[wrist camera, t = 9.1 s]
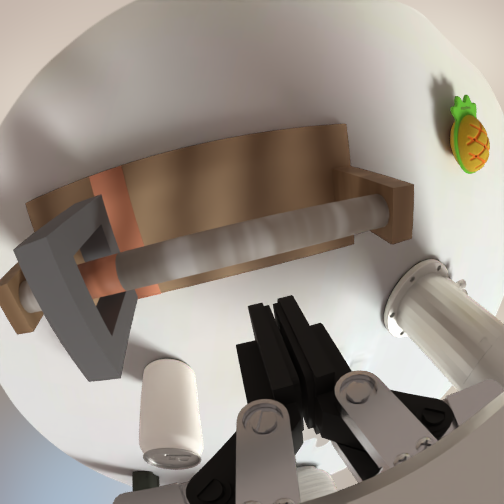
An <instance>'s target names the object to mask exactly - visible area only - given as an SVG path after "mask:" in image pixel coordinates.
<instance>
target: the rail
mask: <svg viewBox="0 0 504 504" xmlns="http://www.w3.org/2000/svg"><path fill="white" fill-rule="evenodd" d="M100 194H101V195H102V198H103V201H104V205H105V208H106V211H107V215H108V218H109V221H110V224H111V227H112V230H113V233H114V236H115V239H116V242H117V245H118V248H119V250H120V253H117V254H113V255H110V256H106V257H102V258H99V259H95V260H92V261H88V262H85V261H84V259H83V256H82V254H81V251H80V249H79V250H78V251H77V253H76V254H75V255H74V256H73V257H74V259H75V262H76V264H77V266H78V269H79V271H80V273H81V276H82V278H83V280H84V282H85V284H86V287H87V289H88V291H89V293H90V295H91V297H92V299H93V301H94V303H95V305H97V303H98V301H99V298H100V297H104V296H108V295H112V294H116V293H121V292H125V291H129V290H133V289H135V291H136V294H137V296H138V299H140V298H144V297H149V296H153V295H157V294H161V293H163V292H168V291H172V290H176V289H180V288H184V287H189V286H193V285H197V284H201V283H205V282H209V281H213V280H217V279H221V278H225V277H229V276H234V275H238V274H242V273H245V272H249V271H253V270H257V269H261V268H265V267H269V266H273V265H277V264H281V263H285V262H289V261H292V260H296V259H300V258H304V257H308V256H311V255H315V254H319V253H323V252H327V251H330V250H334V249H338V248H341V247H345V246H349V245H352V244H354V235H355V234H359V233H363V232H367V231H371V232H372V233H374V234H376V235H377V236H379V237H381V238H382V239H384V240H385V241H387V242H388V243H390V244H396V243H399V242H402V241H405V240H409V239H412V229H413V210H414V184H411V183H408V182H405V181H401V180H398V179H395V178H392V177H388V176H385V175H382V174H378V173H375V172H371V171H367V170H364V169H360V168H356V167H352V166H351V165H350V154H349V144H348V135H347V126H346V124H332V125H319V126H308V127H299V128H290V129H282V130H275V131H268V132H261V133H254V134H248V135H243V136H237V137H231V138H226V139H221V140H216V141H211V142H207V143H202V144H198V145H193V146H189V147H185V148H181V149H177V150H173V151H169V152H165V153H161V154H158V155H154V156H150V157H147V158H143V159H140V160H137V161H133V162H130V163H127V164H124V165H121V166H118V167H115V168H112V169H109V170H106V171H103V172H100V173H97V174H94V175H92V176H89V177H86V178H83V179H81V180H78V181H76V182H73V183H71V184H68V185H66V186H63V187H61V188H58V189H56V190H53V191H51V192H49V193H47V194H44V195H42V196H40V197H38V198H35V199H33V200H31V201H29V202H27V203H25V204H26V207H27V211H28V214H29V217H30V220H31V223H32V226H33V229H34V232H36V231H37V230H39V229H40V228H41V227H43V226H44V225H45V224H47V223H48V222H49V221H51V220H52V219H53V218H55V217H56V216H58V215H59V214H60V213H62V212H63V211H65V210H66V209H68V208H69V207H71V206H72V205H74V204H75V203H78V202H80V201H83V200H86V199H89V198H92V197H95V196H97V195H100ZM0 306H1V308H2V310H3V312H4V313H5V315H6V317H7V319H8V320H9V322H10V324H11V325H12V327H13V329H14V330H15V332H16V333H17V334H23V333H29V332H33V331H34V330H35V328H36V326H37V325H38V323H39V321H40V320H41V318H42V316H43V315H44V313H43V312H42V310H41V308H40V306H39V304H38V302H37V301H36V299H35V297H34V295H33V293H32V291H31V289H30V287H29V285H28V283H27V280H26V278H25V276H24V274H23V272H22V270H21V267H20V265H19V263H17V264H15V265H14V266H13V267H12V268H11V269H10V270H9V271H8V272H7V273H6V274H5V275H4V276H3V277H2V278H1V279H0Z"/></svg>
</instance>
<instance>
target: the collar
mask: <svg viewBox="0 0 504 504" xmlns="http://www.w3.org/2000/svg"><path fill="white" fill-rule="evenodd" d="M79 249H80V251H81V254H82V256H83V259H84V261H85V262H88V261H92V260H95V259H99V258H102V257H106V256H110V255H113V254H117V253H120V250H119V248H118V245H117V242H116V239H115V236H114V233H113V230H112V227H111V224H110V221H109V218H108V215H107V211H106V208H105V205H104V201H103V198H102V195H101V194H100V195H97V196H95V197H92V198H89V199H86V200H83V201H80V202H78V203H75V204H74V205H72V206H71V207H69V208H68V209H66V210H65V211H63V212H62V213H60V214H59V215H58V216H56V217H55V218H53V219H52V220H51V221H49V222H48V223H47V224H45V225H44V226H43V227H41V228H40V229H39V230H37V231H36V232H35V233H33V234H32V235H31V236H30V237H28V238H27V239H26V240H25V241H23V242H22V243H21V244H20V245H18V246H17V247H16V248H15V249H14V250H13V251H14V253H15V256H16V258H17V260H18V263H19V265H20V267H21V270H22V272H23V274H24V276H25V278H26V280H27V283H28V285H29V287H30V289H31V291H32V293H33V295H34V297H35V299H36V301H37V302H38V304H39V306H40V308H41V310H42V312H43V313H44V315H45V317H46V319H47V320H48V322H49V324H50V326H51V327H52V329H53V331H54V332H55V334H56V335H57V337H58V339H59V340H60V342H61V343H62V345H63V346H64V348H65V349H66V351H67V352H68V354H69V355H70V357H71V358H72V360H73V361H74V362H75V364H76V365H77V367H78V368H79V369H80V371H81V372H82V373H83V375H84V376H85V377H86V379H87V380H88V381H89V382H91V381H101V380H110V379H118V378H121V374H122V369H123V363H124V358H125V353H126V348H127V343H128V338H129V333H130V329H131V325H132V320H133V316H134V312H135V308H136V304H137V300H138V296H137V294H136V291H135V289H133V290H129V291H125V292H121V293H116V294H112V295H108V296H104V297H100V298H99V301H98V303H97V305H95V303H94V301H93V299H92V297H91V295H90V293H89V291H88V289H87V287H86V284H85V282H84V280H83V278H82V276H81V273H80V271H79V269H78V266H77V264H76V262H75V259H74V257H73V256H74V255H75V254H76V253H77V251H78V250H79Z"/></svg>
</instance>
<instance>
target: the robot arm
mask: <svg viewBox="0 0 504 504" xmlns="http://www.w3.org/2000/svg"><path fill="white" fill-rule="evenodd" d="M465 286H466V282H465V280H463V279H462V280H460V281H458V282H456V283H455V282H454V281H452V280H451V279H450V278H449V276H448V271H447V268H446V267H445V265H444V264H442V263H441V262H439V261H438V260H435V259H428V260H425V261H422V262H420V263H418V264H417V265H415V266H414V267H412V268H411V269H410V270H409V271H408V272H407V273H406V274H405V275H404V276H403V277H402V278H401V279H400V281H399V282H398V283H397V285H396V286H395V288H394V290H393V291H392V293H391V295H390V297H389V299H388V302H387V305H386V308H385V313H384V323H385V327H386V328H387V330H388V331H389V332H390V333H391V334H392V335H393V336H395V337H406V336H408V337H409V338H410V339H411V340H412V341H413V342H414V343H415V344H416V345H417V346H418V347H419V348H420V349H421V351H422V352H423V353H424V354H425V355H426V356H427V357H428V358H429V359H430V360H431V361H432V363H433V364H434V365H435V366H436V367H437V368H438V369H439V370H440V371H441V373H442V374H443V375H444V376H445V377H446V378H447V379H448V380H449V382H450V383H451V384H452V385H453V386H454V387H455V389H456V390H457V391H458V392H456V393H453V394H450V395H448V396H446V398H445V399H443V400H439V399H435V398H429V397H424V396H418V395H413V394H408V393H403V392H398V391H393V390H390V389H389V388H388V387H387V386H386V385H385V384H384V383H383V382H382V381H381V380H380V379H379V378H378V377H377V376H376V375H374V374H373V373H370V372H367V371H351V369H350V368H349V366H348V364H347V363H346V361H345V360H344V358H343V356H342V355H341V353H340V351H339V350H338V348H337V347H336V345H335V343H334V342H333V340H332V338H331V337H330V335H329V334H328V332H327V330H326V329H325V327H324V326H323V324H321V323H318V324H315V325H311V326H310V325H309V324H308V322H307V320H306V318H305V317H304V315H303V313H302V311H301V309H300V308H299V306H298V304H297V302H296V301H295V299H294V297H293V296H292V295H291V296H287V297H283V298H279V299H278V303H275V304H273V309H274V315H275V319H274V316H273V314H272V311H271V309H270V306H269V305H267V306H263V303H259V304H254V305H250V306H248V309H249V314H250V318H251V323H252V327H253V332H254V336H255V341H251V342H246V343H242V344H238V345H236V348H237V354H238V359H239V364H240V369H241V374H242V379H243V384H244V389H245V394H246V399H247V403H248V404H247V405H246V406H245V407H244V408H242V409H241V411H240V413H239V414H238V417H237V429H236V432H235V433H234V434H233V435H232V437H231V438H230V439H229V440H228V441H227V442H226V443H225V444H224V445H223V446H222V448H221V449H220V450H219V451H218V452H217V453H216V454H215V455H214V456H213V457H212V458H211V459H210V460H209V461H208V462H207V463H206V464H205V465H204V466H203V467H202V468H201V469H200V470H199V472H197V473H196V474H195V475H194V476H193V477H192V479H191V480H190V481H189V482H185V483H181V484H179V483H173V484H169V485H164V486H160V487H155V488H150V489H145V490H139V491H133V492H127V493H123V494H120V495H119V496H118V497H116V498H115V500H114V502H113V504H504V324H503V323H502V322H501V321H500V320H498V319H497V318H496V317H495V316H494V315H492V314H491V313H490V312H489V311H487V310H486V309H485V308H484V307H482V306H481V305H480V304H479V303H477V302H476V301H475V300H473V299H472V298H471V297H469V296H468V294H467V291H466V290H465V289H463V288H465ZM303 417H304V420H305V423H306V425H307V427H308V429H310V428H314V430H315V433H316V434H319V433H320V434H321V437H322V438H325V439H328V440H331V443H332V445H333V447H334V448H335V450H336V451H337V452H338V454H339V455H340V457H341V458H342V460H343V461H344V463H345V464H346V466H347V467H348V469H349V470H350V472H351V473H352V475H353V476H354V477H355V479H356V480H357V482H358V484H355V485H353V486H350V487H348V488H345V489H342V490H340V491H337V492H334V493H331V494H328V495H325V496H322V497H319V498H316V499H312V500H309V501H305V502H302V503H301V500H300V491H299V483H298V475H297V467H296V459H295V455H296V453H297V452H298V450H299V449H300V447H301V446H302V444H303V434H302V431H303V430H304V424H303Z"/></svg>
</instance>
